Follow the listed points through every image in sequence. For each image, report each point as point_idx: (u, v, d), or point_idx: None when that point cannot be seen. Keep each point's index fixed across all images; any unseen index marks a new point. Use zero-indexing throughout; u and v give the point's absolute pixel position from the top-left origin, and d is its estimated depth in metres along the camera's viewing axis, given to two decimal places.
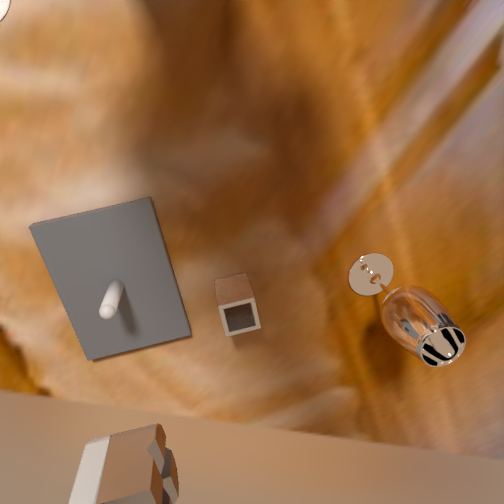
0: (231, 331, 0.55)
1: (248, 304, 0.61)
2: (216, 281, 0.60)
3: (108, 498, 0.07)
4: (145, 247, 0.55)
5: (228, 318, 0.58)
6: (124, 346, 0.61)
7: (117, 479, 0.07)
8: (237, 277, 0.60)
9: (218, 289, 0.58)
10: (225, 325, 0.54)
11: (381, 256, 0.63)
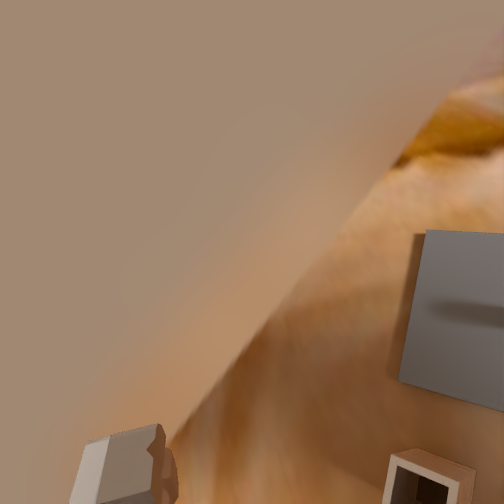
0: (396, 469, 0.32)
1: (409, 500, 0.36)
2: (474, 474, 0.34)
3: (108, 498, 0.07)
4: None
5: None
6: (425, 283, 0.41)
7: (117, 479, 0.07)
8: None
9: (469, 480, 0.32)
10: (413, 468, 0.31)
11: None
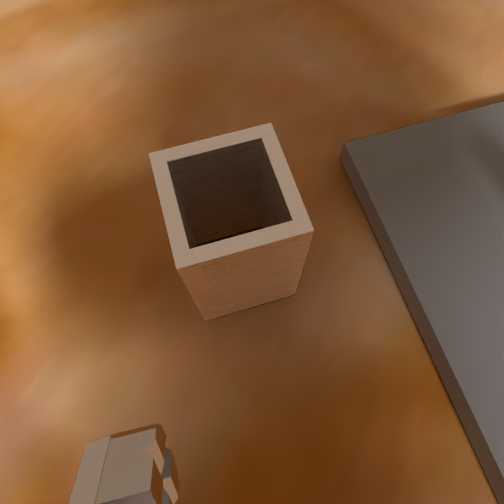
0: (253, 141, 0.16)
1: (194, 228, 0.21)
2: (290, 292, 0.21)
3: (108, 498, 0.07)
4: None
5: (256, 186, 0.19)
6: None
7: (117, 479, 0.07)
8: (232, 307, 0.20)
9: (292, 276, 0.18)
10: (276, 161, 0.15)
11: None
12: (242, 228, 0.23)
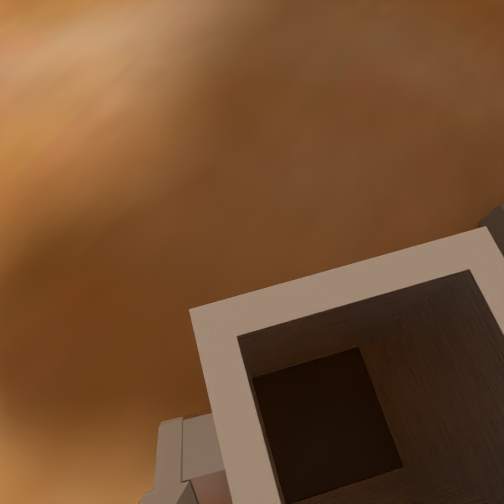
0: (446, 277, 0.06)
1: (256, 371, 0.12)
2: None
3: (194, 475, 0.07)
4: None
5: (390, 320, 0.10)
6: None
7: (199, 457, 0.07)
8: None
9: None
10: None
11: None
12: (331, 353, 0.13)
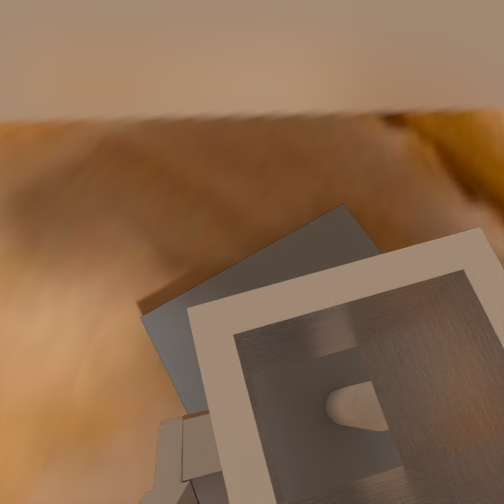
0: (441, 276, 0.06)
1: (255, 369, 0.12)
2: None
3: (194, 474, 0.07)
4: None
5: (388, 320, 0.10)
6: (281, 252, 0.27)
7: (199, 457, 0.07)
8: None
9: None
10: None
11: None
12: (331, 352, 0.13)
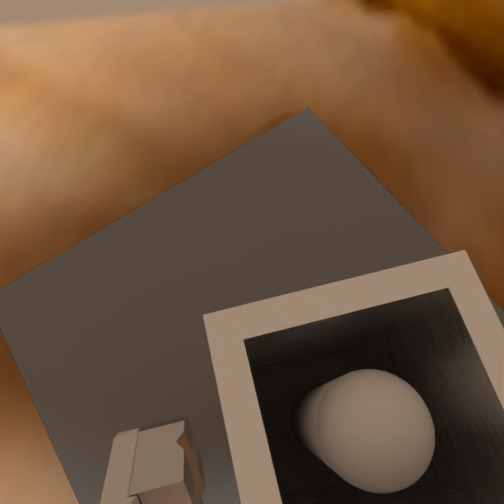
0: (428, 293, 0.07)
1: (258, 370, 0.13)
2: None
3: (142, 489, 0.07)
4: None
5: (382, 328, 0.10)
6: (214, 183, 0.17)
7: (149, 470, 0.07)
8: None
9: None
10: (491, 352, 0.07)
11: None
12: (329, 356, 0.14)
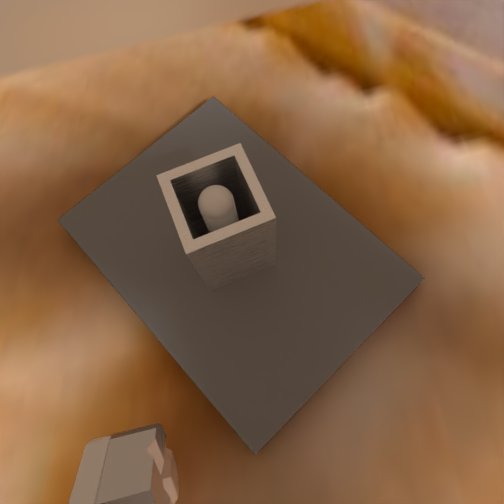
0: (228, 158, 0.22)
1: (195, 222, 0.28)
2: (272, 262, 0.28)
3: (108, 498, 0.07)
4: (217, 347, 0.27)
5: (236, 187, 0.25)
6: (166, 145, 0.32)
7: (117, 479, 0.07)
8: (229, 278, 0.27)
9: (270, 250, 0.25)
10: (246, 171, 0.22)
11: None
12: None
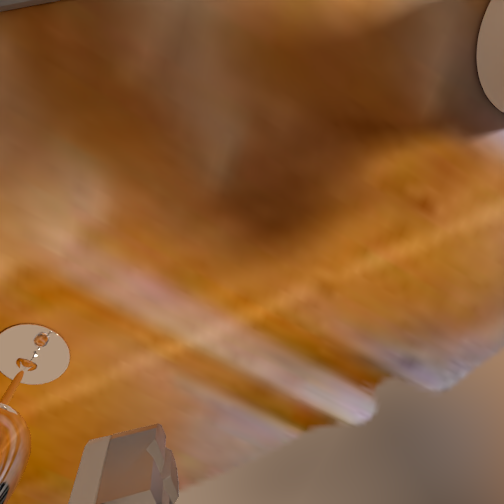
0: None
1: None
2: None
3: (108, 498, 0.07)
4: None
5: None
6: None
7: (117, 479, 0.07)
8: None
9: None
10: None
11: (65, 363, 0.42)
12: None
